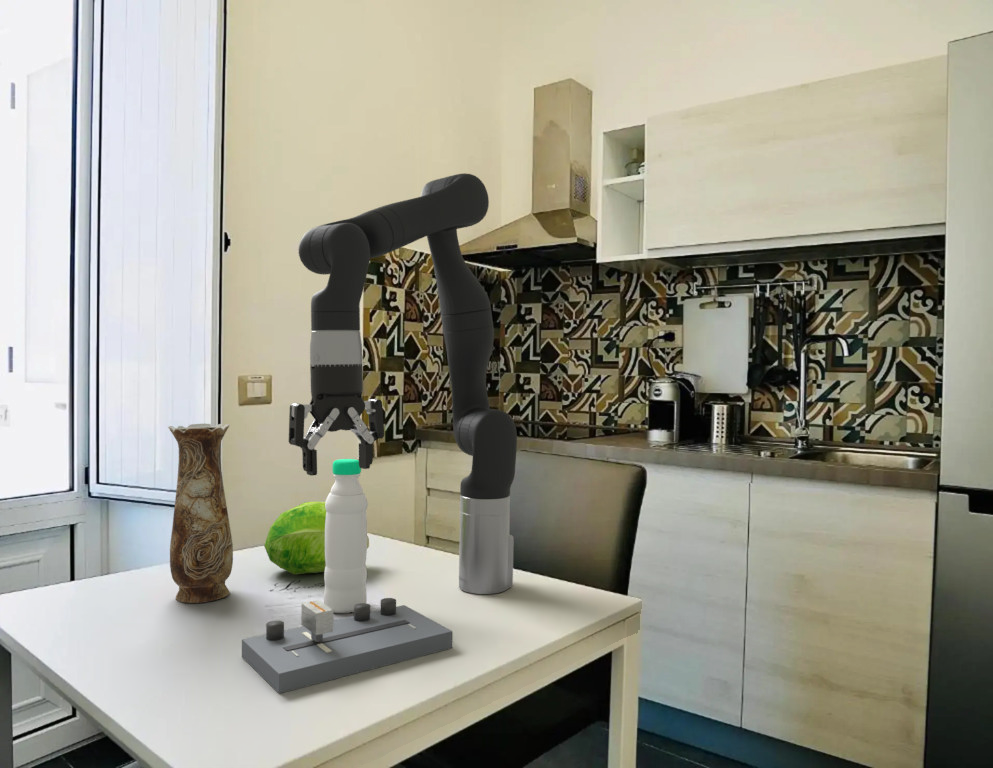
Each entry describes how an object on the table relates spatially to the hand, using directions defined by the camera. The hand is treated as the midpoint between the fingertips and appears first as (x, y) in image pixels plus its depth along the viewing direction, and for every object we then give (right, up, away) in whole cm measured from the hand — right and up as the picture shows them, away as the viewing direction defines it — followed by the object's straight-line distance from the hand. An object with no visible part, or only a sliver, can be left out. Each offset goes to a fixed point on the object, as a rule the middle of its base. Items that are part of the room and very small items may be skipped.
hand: (338, 471), depth 109 cm
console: (+2, -25, -4) cm, 26 cm away
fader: (-2, -22, -7) cm, 24 cm away
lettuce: (-12, -24, +37) cm, 46 cm away
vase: (-29, -24, +21) cm, 43 cm away
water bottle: (-2, -25, +15) cm, 30 cm away
